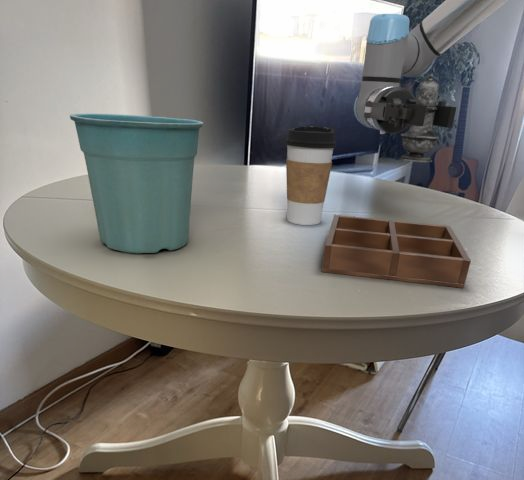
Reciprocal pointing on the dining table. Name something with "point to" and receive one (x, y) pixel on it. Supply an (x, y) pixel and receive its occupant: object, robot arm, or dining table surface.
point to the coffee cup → (308, 172)
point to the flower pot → (139, 178)
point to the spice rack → (395, 251)
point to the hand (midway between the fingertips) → (437, 116)
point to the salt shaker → (422, 136)
